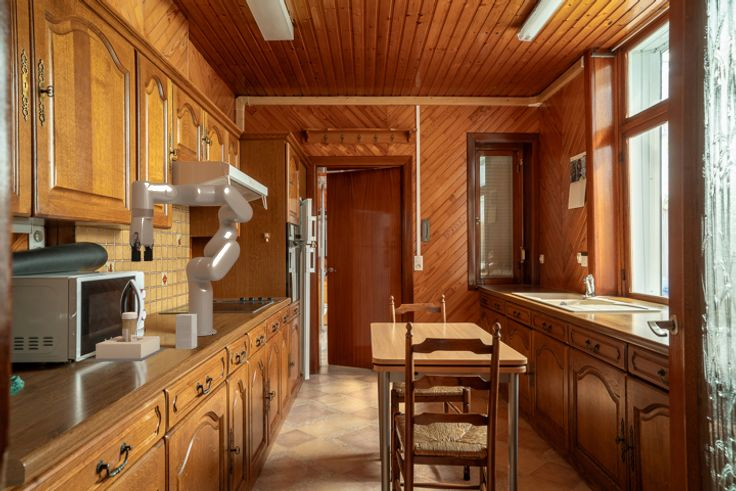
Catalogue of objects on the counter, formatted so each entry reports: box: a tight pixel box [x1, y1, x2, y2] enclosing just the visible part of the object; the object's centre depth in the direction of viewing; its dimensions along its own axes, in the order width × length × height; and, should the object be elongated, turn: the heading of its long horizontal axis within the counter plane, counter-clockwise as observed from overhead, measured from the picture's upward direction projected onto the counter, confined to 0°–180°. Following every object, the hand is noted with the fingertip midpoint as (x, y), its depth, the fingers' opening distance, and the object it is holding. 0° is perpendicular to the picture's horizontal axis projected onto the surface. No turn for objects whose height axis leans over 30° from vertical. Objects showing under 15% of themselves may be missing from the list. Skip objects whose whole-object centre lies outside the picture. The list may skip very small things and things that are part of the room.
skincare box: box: [175, 313, 198, 350], centre depth 167 cm, size 6×4×12 cm
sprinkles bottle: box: [121, 311, 138, 342], centre depth 157 cm, size 5×5×14 cm
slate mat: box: [82, 347, 169, 363], centre depth 155 cm, size 20×18×1 cm
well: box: [95, 335, 161, 359], centre depth 156 cm, size 14×14×4 cm
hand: (142, 261), depth 175 cm, fingers open, 9 cm apart
